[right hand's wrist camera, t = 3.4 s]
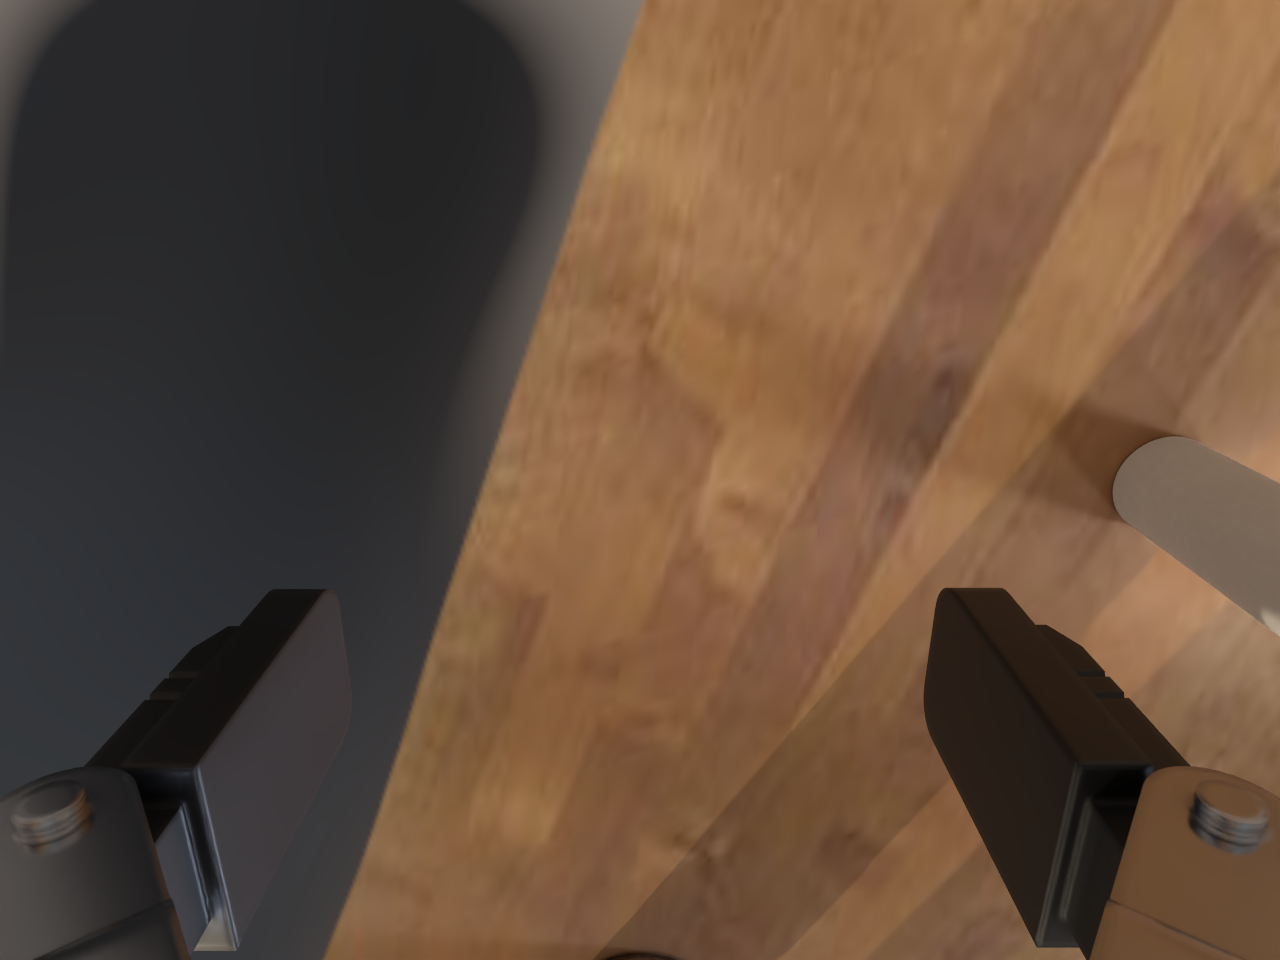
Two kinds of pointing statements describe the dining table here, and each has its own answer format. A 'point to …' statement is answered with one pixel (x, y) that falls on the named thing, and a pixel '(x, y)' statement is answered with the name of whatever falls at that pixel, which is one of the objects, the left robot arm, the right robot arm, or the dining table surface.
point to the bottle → (1208, 518)
